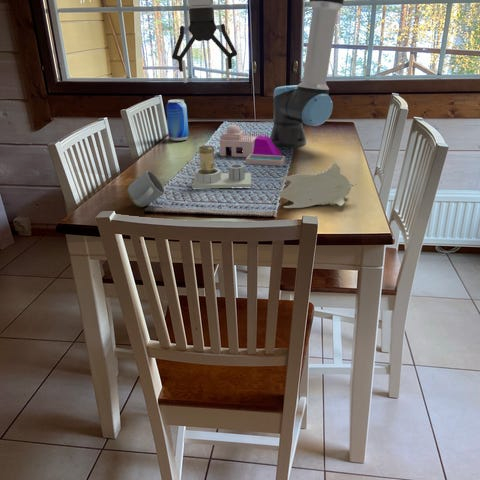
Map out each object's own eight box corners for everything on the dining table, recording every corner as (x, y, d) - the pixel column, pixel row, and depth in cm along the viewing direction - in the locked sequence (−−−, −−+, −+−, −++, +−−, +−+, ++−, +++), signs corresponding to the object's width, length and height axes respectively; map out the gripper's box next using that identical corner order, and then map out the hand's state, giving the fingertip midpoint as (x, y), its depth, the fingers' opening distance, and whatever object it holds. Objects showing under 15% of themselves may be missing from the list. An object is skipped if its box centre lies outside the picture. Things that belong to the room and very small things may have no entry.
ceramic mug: (145, 209, 132) (130, 186, 132) (168, 193, 131) (153, 170, 131) (131, 210, 122) (115, 185, 122) (156, 193, 121) (140, 168, 121)
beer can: (165, 140, 198) (161, 101, 191) (175, 135, 205) (172, 98, 198) (183, 141, 195) (179, 102, 188) (192, 137, 202) (189, 99, 195)
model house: (213, 162, 168) (212, 132, 163) (227, 150, 183) (226, 122, 178) (281, 166, 162) (282, 135, 157) (290, 153, 176) (291, 124, 172)
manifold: (251, 177, 151) (250, 160, 148) (251, 188, 141) (250, 171, 138) (196, 178, 151) (194, 161, 149) (192, 189, 141) (191, 172, 139)
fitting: (215, 176, 148) (214, 145, 143) (214, 181, 143) (213, 149, 139) (201, 176, 148) (199, 145, 143) (200, 181, 144) (198, 149, 139)
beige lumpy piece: (283, 215, 123) (276, 172, 124) (279, 219, 135) (273, 180, 136) (364, 202, 123) (357, 159, 124) (354, 207, 135) (347, 168, 136)
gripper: (242, 4, 142) (245, 77, 152) (161, 9, 142) (169, 81, 152) (242, 4, 135) (245, 80, 145) (157, 9, 135) (166, 85, 145)
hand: (206, 81), depth 148 cm, fingers open, 13 cm apart
